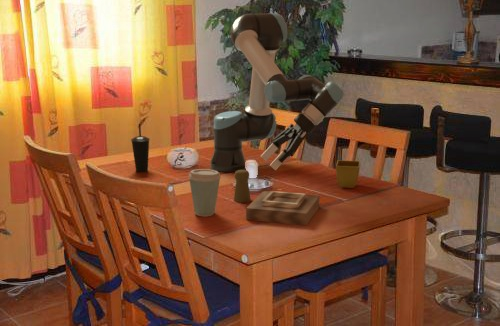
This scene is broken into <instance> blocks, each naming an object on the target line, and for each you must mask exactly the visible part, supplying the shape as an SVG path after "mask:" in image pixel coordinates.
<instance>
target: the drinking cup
mask: <svg viewBox="0 0 500 326" xmlns="http://www.w3.org/2000/svg"><path fill="white" fill-rule="evenodd" d="M141 129H142V128H141V123H138V134H139V135H138V136H137V135H136V136H134V137H133V138H131V139H130V142H131V145H132V152H133V159H134V167H135V172H136V173H140V172H142V173H147V172H148V169H149V151H150V140H151V139H150V138H149V137H147V136H144V135H142V131H141Z"/></svg>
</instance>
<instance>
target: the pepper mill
mask: <svg viewBox="0 0 500 326" xmlns="http://www.w3.org/2000/svg"><path fill="white" fill-rule="evenodd" d="M234 178H235V188H234V196H233V201H234V202H235V203H242V204H243V203H249V202H250V201H251V200H252V199H251V193H250V185H249V178H250V173H249V171H248V170H246V169H244V170H237V171H235V172H234Z"/></svg>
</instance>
